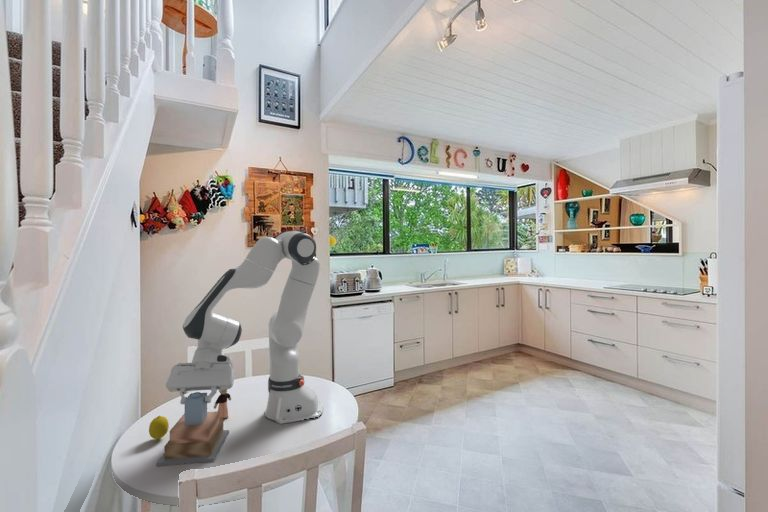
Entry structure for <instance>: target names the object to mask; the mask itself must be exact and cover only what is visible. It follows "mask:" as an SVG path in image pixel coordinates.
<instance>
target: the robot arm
mask: <svg viewBox="0 0 768 512" xmlns="http://www.w3.org/2000/svg"><path fill="white" fill-rule="evenodd" d="M283 259H288V260H291V270H290V272H289V273H288V274H289V275H288V278H286V279H287V280H286V282H285V285H284V287H283V291H282V293H281V296H280V301H279V305H278V310H277V312H275V313H273V315H272V316H271V318H269V323H268V343H269V377H268V380H267V391H268V399H267V402H266V403H267V405H266V409H265V411H264V415H265V417H266V418H267V419H269V420H271V421H275V422H276V423H277V424H281V425H282V424H288V423H293V422H300V420H301V421H305V420H304V419H307V420H310V419H309V418H314V419H316V418H315V417H318V418H320V417H321V416H322V415H321V413H322V411H323V412H324V403H323V402H322V401H321V400H320V399H318V395H317V393H316V391H315V389H314V388H311V387H310V386H308V385H307V384H306V383H305V377H304V374H302V375H301V374H300V363H299V362H300V353H299V347H298V346H299V345H298V343H299V342H300V341H301V338H302V337H303V329H304V326H305V321H306V318H307V313H308V308H309V304H310V301H311V298H312V296H313V293H314V289H315V286H316V284H317V281H318V278H319V273H320V269H321V261H320V260H319V259H318V257H317V244H316V240H315V239H314V238H313V237H312V236H311V235H310V234H308V233H306V232H301V231H297V230H291V231H290V230H285V231H282V232H279V233H278V234H277V235H275V236H274V237H271V236H262V237H260V238H259V239H258V240H257V241H256V242H255V244H254V245H253V246H252V248H250V250H249V252H248V254H247V255H246V256H245V258H244V260H243V262H242V263H241V264H239V265H238V266H236V267H235V268H229V269H228V270H226V271H225V273H224V274H223V275H222V276H221V277H220V278H219V279H218V280H217V282H216V283H214V285H213V286H212V287H211V288H210V290H209V291H208V292H207V293H206V294H205V296H204V297H203V299H202V300H201V301H200V302H199V303H198V304H197V305H196V307H195V308H193V310H191V312H189V314H188V315H187V316H186V318H185V320H184V321H183V324H182V328H183V329H182V330H183V331H184V334H185V335H186V337H187V338H188V339H193V340H194V339H195V340H197V347H196V349H195V351H194V354H193V356H192V360H191V362H184V363H183V362H179V363H177V364H175V365H173V366H172V368H171V370H170V374H169V376H168V379H166V380H167V381H166V382H165V388H166V389H167V391H168V392H170V393H171V392H172V393H173V392H176V393H177V392H179V395H180V397H181V399H180V402H179V403H180V405H185V399H186V398H187V397H188V396H185V395H186V394H187V392H190V391H191V392H194V391H196V392H198V391H211V392H210V393H209V394H207V396H206V397H205V403H207V404H211V403H212V398H213V397H214V396H215V395H216V394H217V392H218V389H227V390H230V389H232V388H233V386H234V382H235V371H234V362H233V359H232V358H231V356H229V355H225V354H223V350H225V349H229V348H231V347H233V346H234V345H236V344H237V343H238V342H239V341H240V340H241V337H242V331H243V329H242V324H241V323H240V321H237V320H236V319H233V318H230V317H227V316H224V315H222V314H218V313H216V312H213V310H214V309H215V307H216V306H217V304H218V303H219V302H220V301H221V300H222V298H224V296H225V294H226V293H227V292H229V291H231V290H234V289H248V290H249V289H251V290H252V289H258V288H261V287H263V286H265V285H266V284H268V283H269V281H270V280H271V278H272V277H273V275H274V272H275V271H276V270H277V267H278V264H279V263H280V262H281V261H282V260H283ZM318 402H322V403H318ZM319 412H320V413H319ZM322 414H323V413H322ZM320 415H321V416H320ZM319 416H320V417H319Z"/></svg>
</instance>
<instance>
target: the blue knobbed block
mask: <svg viewBox="0 0 768 512" xmlns="http://www.w3.org/2000/svg"><path fill="white" fill-rule="evenodd" d="M206 396H208V392H199V391H196V392H191V393H189V395H188V396H186V397H187V398H186V399H185V404H184V413H185V423H184V425H199V424H202V423H203V422H204V420H205V419H206V417H207V412H208V403H205V397H206Z"/></svg>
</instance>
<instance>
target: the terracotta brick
mask: <svg viewBox="0 0 768 512" xmlns="http://www.w3.org/2000/svg"><path fill="white" fill-rule="evenodd" d="M184 423H185V412H184V413H183V414H182V416H181V417H180V418H179V419H178V420H177V422H176V423H175V424H174V425H173V426H172V428H171V429H170V430H169V440H168V441H167V443H166V444H165V445H164V446H163V447H164V450H163V451H164V453H163V454H164V459H174V458H187V457H200V456H211V454H212V452H213V450H214V449H215V447H216V445H217V443H218V441H219V440H220V438H221V436H222V434H223V430H224V420H223V421H219V411H218V410H216V411H207V417H206V419H205V420H204V422H203V423H202V424H199V425H184Z"/></svg>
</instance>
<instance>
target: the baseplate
mask: <svg viewBox="0 0 768 512" xmlns="http://www.w3.org/2000/svg"><path fill="white" fill-rule="evenodd" d="M229 434H230V430H229V429H223V434H222V436H221V438H220V440H219V441H218V443H217V445H216V447H215V449H214V450H213V452H212V454H211V456H200V457H187V458H174V459H164V453H162V455H161V457H160V458H159V459H158V460H157V462H156V467H163V466H164V467H165V466H174V465H175V466H177V465H185V464H184V463H190V464H200V463H214V462H215V461H216V459H217V457H218V455H219V454H220V451H221V449H222V447H223V446H224V443H225V441H226V440H227V438H228V436H229Z"/></svg>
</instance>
